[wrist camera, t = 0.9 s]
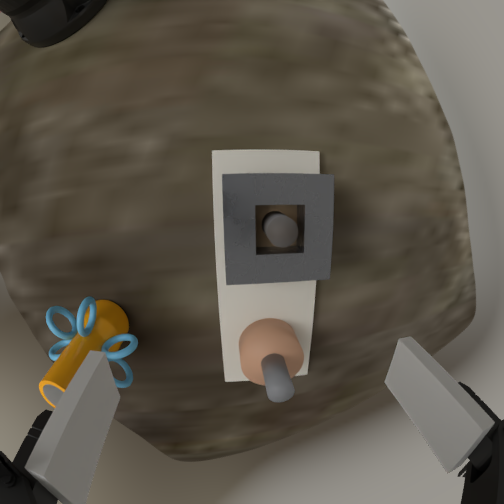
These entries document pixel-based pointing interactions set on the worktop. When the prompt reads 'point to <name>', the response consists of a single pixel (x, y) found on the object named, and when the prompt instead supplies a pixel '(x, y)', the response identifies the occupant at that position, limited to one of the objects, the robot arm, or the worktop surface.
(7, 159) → the worktop surface
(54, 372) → the tube with blue rings
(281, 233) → the stand
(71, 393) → the robot arm
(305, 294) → the board
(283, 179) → the square frame with hole
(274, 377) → the peg
